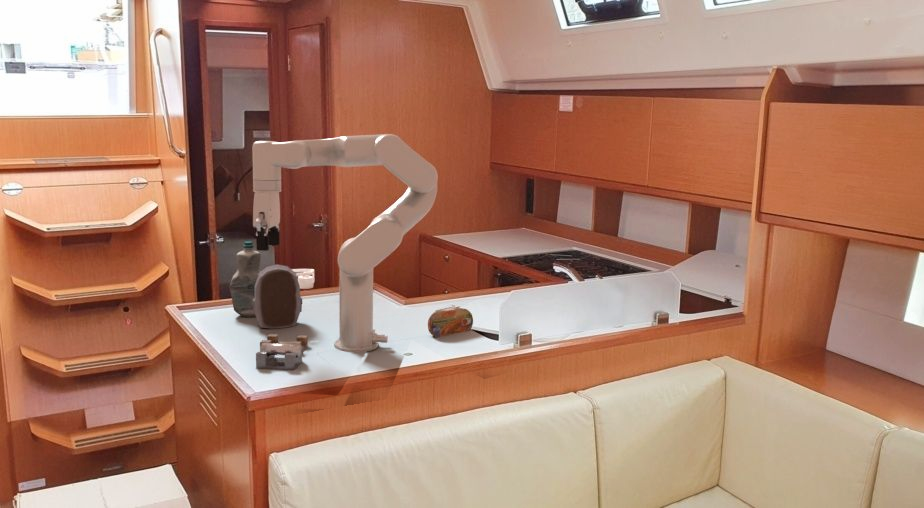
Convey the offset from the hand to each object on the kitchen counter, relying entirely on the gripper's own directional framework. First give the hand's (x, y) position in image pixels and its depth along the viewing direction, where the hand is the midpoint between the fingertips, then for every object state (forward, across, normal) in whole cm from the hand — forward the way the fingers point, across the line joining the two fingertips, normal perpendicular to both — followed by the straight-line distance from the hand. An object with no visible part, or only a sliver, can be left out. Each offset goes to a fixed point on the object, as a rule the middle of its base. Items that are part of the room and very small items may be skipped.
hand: (268, 247), depth 212 cm
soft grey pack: (+28, -20, -4) cm, 35 cm away
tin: (+29, -18, +50) cm, 60 cm away
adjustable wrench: (+28, -31, +45) cm, 61 cm away
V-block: (+28, +17, +8) cm, 34 cm away
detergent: (+29, -30, -16) cm, 45 cm away
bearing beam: (+28, +3, +5) cm, 29 cm away
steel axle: (+24, +16, +8) cm, 30 cm away
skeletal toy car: (+29, -72, -16) cm, 79 cm away
